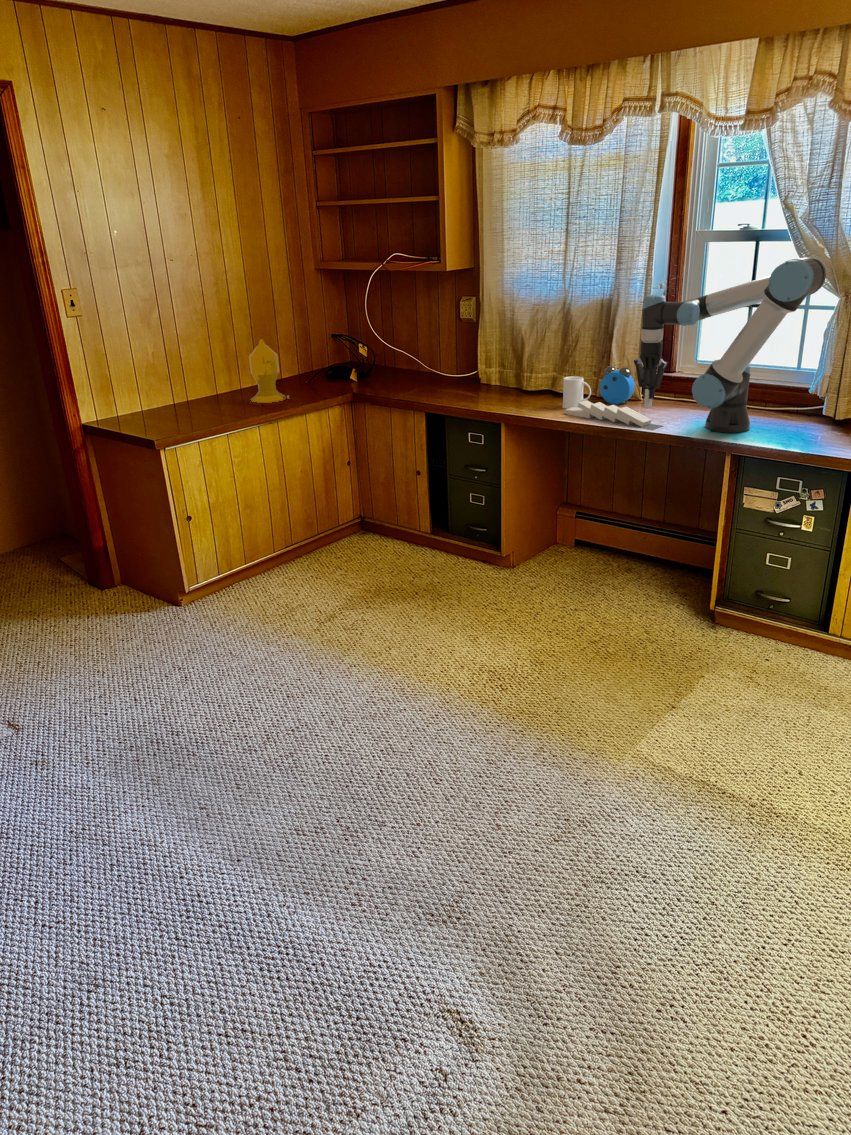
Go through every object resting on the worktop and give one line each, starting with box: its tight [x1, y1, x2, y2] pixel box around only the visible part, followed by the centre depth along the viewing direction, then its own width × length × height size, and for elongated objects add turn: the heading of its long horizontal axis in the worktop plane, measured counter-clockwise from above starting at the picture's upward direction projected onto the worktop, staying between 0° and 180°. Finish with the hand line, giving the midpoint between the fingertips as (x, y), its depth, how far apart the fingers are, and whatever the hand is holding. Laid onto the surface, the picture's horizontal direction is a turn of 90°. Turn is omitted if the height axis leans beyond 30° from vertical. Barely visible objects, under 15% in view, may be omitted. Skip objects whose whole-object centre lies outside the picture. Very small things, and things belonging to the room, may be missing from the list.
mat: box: [582, 417, 665, 431], centre depth 316 cm, size 32×8×1 cm, turn 41°
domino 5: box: [617, 406, 652, 427], centre depth 311 cm, size 2×5×12 cm
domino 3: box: [590, 401, 620, 422], centre depth 320 cm, size 2×5×12 cm
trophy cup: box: [248, 338, 290, 403], centre depth 378 cm, size 18×24×28 cm
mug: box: [562, 375, 592, 409], centre depth 341 cm, size 12×8×12 cm
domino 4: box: [604, 404, 633, 425], centre depth 316 cm, size 2×5×12 cm
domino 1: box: [564, 407, 595, 418], centre depth 329 cm, size 2×5×12 cm
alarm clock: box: [599, 365, 636, 405], centre depth 344 cm, size 13×6×15 cm, turn 55°
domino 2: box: [578, 399, 606, 420], centre depth 324 cm, size 2×5×12 cm
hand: (648, 407), depth 306 cm, fingers closed
